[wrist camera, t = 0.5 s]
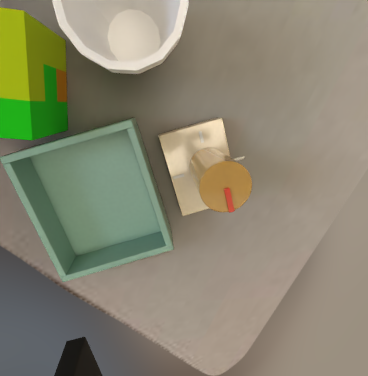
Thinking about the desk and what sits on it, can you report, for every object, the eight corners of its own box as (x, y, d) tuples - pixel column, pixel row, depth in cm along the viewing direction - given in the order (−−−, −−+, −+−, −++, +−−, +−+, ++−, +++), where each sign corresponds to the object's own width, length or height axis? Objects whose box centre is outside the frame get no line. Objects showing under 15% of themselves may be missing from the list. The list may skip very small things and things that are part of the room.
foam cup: (163, 93, 33) (168, 87, 20) (87, 71, 31) (42, 49, 19) (183, 9, 30) (203, -57, 18) (101, -21, 29) (61, -116, 16)
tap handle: (183, 153, 33) (193, 170, 24) (224, 142, 33) (247, 155, 24) (194, 191, 34) (207, 219, 26) (232, 180, 34) (257, 204, 26)
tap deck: (158, 134, 34) (158, 136, 32) (229, 113, 34) (235, 114, 32) (180, 209, 38) (182, 216, 35) (245, 190, 38) (252, 196, 35)
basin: (22, 149, 33) (-2, 157, 28) (134, 117, 33) (131, 119, 28) (74, 259, 38) (62, 282, 33) (171, 230, 38) (173, 249, 33)
